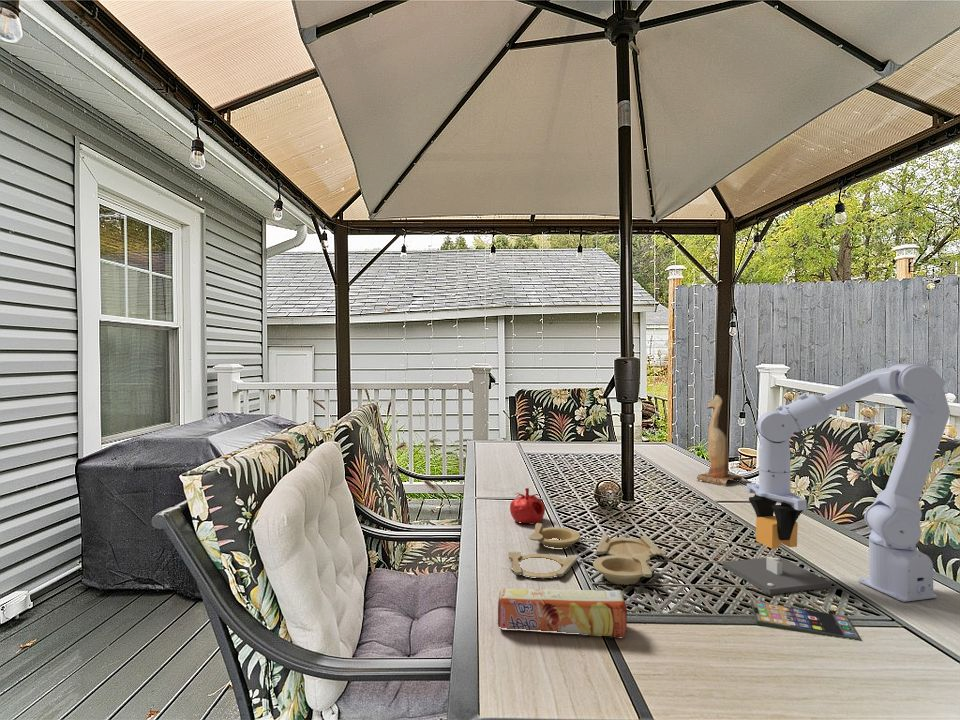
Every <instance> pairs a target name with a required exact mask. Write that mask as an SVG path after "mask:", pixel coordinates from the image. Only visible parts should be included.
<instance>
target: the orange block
mask: <svg viewBox="0 0 960 720" xmlns="http://www.w3.org/2000/svg"><path fill="white" fill-rule="evenodd" d="M755 520H756V523H755V526H756V527H755V541H756V542H757V543H760V544H762V545H764V546H765V547H768V548H770V549H773V550H775V549H780V546H781V545H780V544H782V545H784V546H786V547H788V548H797V547H798V527H799V526H798V522H797V521H796V522H795V525H794V527H793V530H792V534H791V538H790V540H780V539H779V537H778V530H777V521H776V517H775V515H773V516H768V517H757V516H756V519H755Z"/></svg>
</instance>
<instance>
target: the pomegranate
mask: <svg viewBox="0 0 960 720" xmlns="http://www.w3.org/2000/svg"><path fill="white" fill-rule="evenodd" d="M524 490H525V495H524V494H522V493H519V492H517V493H516V497H515V498H514V499H513V500H511V502H510V505H509V512H510V515H511V517H512V519H513V520H514V521H515V522H516V521H517V522H516V523H518V522H521V523H538V522H539V523H541V521H542V520H543V519H544V515H545V511H546V506H545V504H544V502H542V499H540V498H538V497H537V496H539V497H541V495H540V494H537V493H536V494H530V488H529V487H525V489H524Z"/></svg>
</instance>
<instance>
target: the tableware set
mask: <svg viewBox="0 0 960 720" xmlns="http://www.w3.org/2000/svg"><path fill="white" fill-rule="evenodd" d="M534 525H535V527H534V532H533V533H531V534H529V535H528V539H529V540H531V541H537V542H539V543H541V545H542V544H543V545H545V546H548V547H554V548H566V547H569V546H572V545H573V544H575V543H577V542H578V541H580V540H581V534H580V533H579V531H576V530H575V529H571V528H566V527H558V526H553V527H550V526H549V527H543V523H541V522H539V523H536V524H534ZM609 537H610V536H609V535H605V534H604V535H602V536H601V538H600V541H599V543H598V546H597V549H596V550H595V553H596V554H597V555H604V554H605V556H600V557H598V558H596V559H595V560H594V561H593V563H592V565H593V566H592V567H593V568H594V570H595V571H596V572H599V573H600V574H602V575H603V577H604V578H605V579H607V580H606V581H608V582H609V583H612V584H615V585H620V584H621V585H622V586H625V585H626V586H629V584H631V585H634V584H637V583H638V582H639V580H640V579H641V577H645V578H652V576H653V573H652V570H651V566H650V564H649V562H650V560H651V558H653V557H655V556H657V555H658V556H666V555H667V552H666V551H664V550H663V549H662V548H660V547H657V546H656V545H655V544H654V543H653V542H652V541H651V539H650V538H649V537H648V536H646V535H641V536H640V538H634V537H624V536H623V537H611V538H609ZM552 538H557V539H561V540H549V539H552ZM543 545H542V546H543ZM569 548H570V547H569ZM507 555H508V559H509V560H511V561H512V562H511V561H510V563H511V568H513V570H514V572H513V575H516V576H520V574H521V575H525V576H529V577H536V578H550V577H554V576H559V577H558V578H560V577H564V576H565V575H566V574H568V573H569V572H568V571H570V570H571V567H572V566H573V565H574V564H575V563H576V562H577V561H578V560H579V556H578V555H575V554H571V555H568V556H566V557H565V558H562V557H560V556H557V555H553V554H545V553H531V554H530V553H528V554H523V555H522V553H521V552H520V551H508V552H507ZM528 558H546V559H550V560H554V561H556V562H558V563H559V564H560V565H561V568H560V569H559V570H557V571H554V572H549V573H534V572H529V571H526V570H523V569H522V568H521V567H520V564H519V562H521V561H522V560H525V559H528ZM567 572H568V573H567ZM565 573H566V574H565ZM564 574H565V575H564ZM623 584H624V585H623Z"/></svg>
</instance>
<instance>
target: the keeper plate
mask: <svg viewBox="0 0 960 720" xmlns="http://www.w3.org/2000/svg"><path fill="white" fill-rule="evenodd" d="M722 568H724V569H726V570H728V571H729V572H731V573H733V574H734V575H736V576H737V577H739V578H741V579H742V580H744V581H746V582H748V583H750V584H751V585H753V586H754V587H757V588H758V589H760V590H762V591H763V592H765V593H766V594H768V595H778V594H786V593H787V594H788V593H796V592H803V591H811V590H813V591H814V590H821V589H829V588H832V584H833V583H832V581H830V580H828V579H825V578H824V577H821V576H819V575H817V574H815V573H813V572H812V571H809V570H807V569H805V568H803V567H801V566H799V565H796V564H795V563H793V562H791V561H788V560H786V559H785V558H783V557H781V556H765V557H759V558H757V557H756V558H749V559H741V560H740V559H739V560H730V561H722Z"/></svg>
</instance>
